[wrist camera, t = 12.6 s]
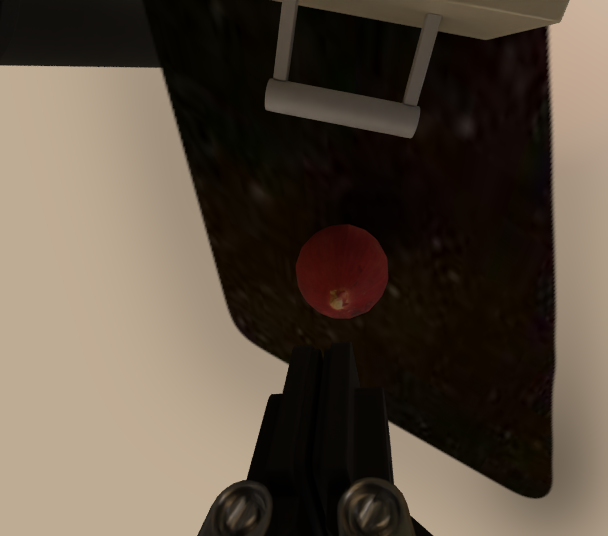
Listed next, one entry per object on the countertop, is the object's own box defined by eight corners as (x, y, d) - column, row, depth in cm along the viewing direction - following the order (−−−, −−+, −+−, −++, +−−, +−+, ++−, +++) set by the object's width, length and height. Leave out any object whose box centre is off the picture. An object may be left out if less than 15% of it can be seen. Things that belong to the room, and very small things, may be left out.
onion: (397, 265, 28) (410, 331, 21) (325, 293, 30) (316, 363, 23) (363, 195, 26) (366, 241, 19) (289, 229, 28) (266, 284, 21)
